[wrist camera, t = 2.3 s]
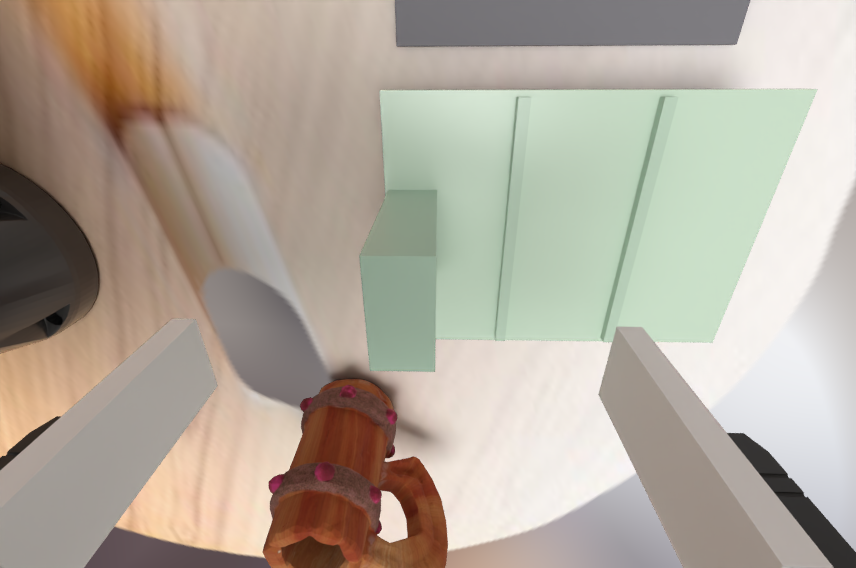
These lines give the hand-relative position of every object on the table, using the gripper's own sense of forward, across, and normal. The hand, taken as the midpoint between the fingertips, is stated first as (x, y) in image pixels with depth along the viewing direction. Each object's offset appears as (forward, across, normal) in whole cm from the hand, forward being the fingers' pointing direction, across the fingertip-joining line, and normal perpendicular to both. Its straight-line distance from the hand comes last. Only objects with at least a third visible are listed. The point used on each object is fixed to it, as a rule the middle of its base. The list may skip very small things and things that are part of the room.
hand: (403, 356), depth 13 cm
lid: (+12, +8, 0) cm, 14 cm away
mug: (+18, -5, -21) cm, 28 cm away
